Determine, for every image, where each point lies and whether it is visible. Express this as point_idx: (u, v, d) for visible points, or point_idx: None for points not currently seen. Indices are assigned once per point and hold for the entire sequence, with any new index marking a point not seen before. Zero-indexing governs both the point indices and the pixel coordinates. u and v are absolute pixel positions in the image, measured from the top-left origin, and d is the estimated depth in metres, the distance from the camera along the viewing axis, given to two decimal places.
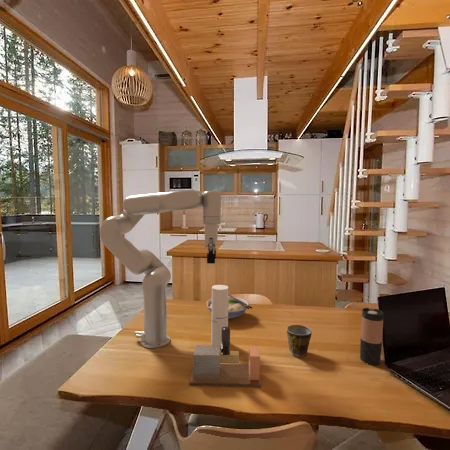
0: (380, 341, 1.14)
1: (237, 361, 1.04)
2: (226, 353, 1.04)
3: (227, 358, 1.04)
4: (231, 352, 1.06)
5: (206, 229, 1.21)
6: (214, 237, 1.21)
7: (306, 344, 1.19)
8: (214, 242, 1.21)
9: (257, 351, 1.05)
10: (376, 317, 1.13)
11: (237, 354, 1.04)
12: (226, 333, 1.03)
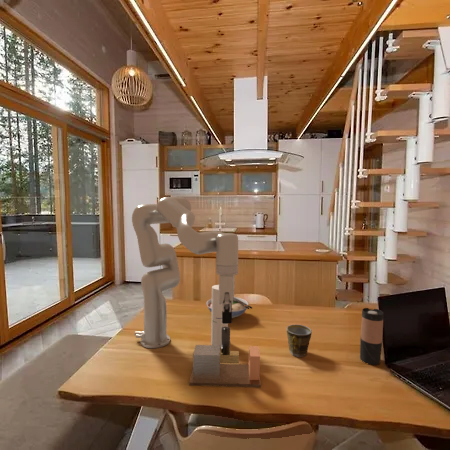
0: (380, 341, 1.14)
1: (237, 361, 1.04)
2: (226, 353, 1.04)
3: (227, 358, 1.04)
4: (231, 352, 1.06)
5: (221, 282, 0.99)
6: (231, 292, 0.98)
7: (306, 344, 1.19)
8: (231, 298, 0.98)
9: (257, 351, 1.05)
10: (376, 317, 1.13)
11: (237, 354, 1.04)
12: (226, 333, 1.03)
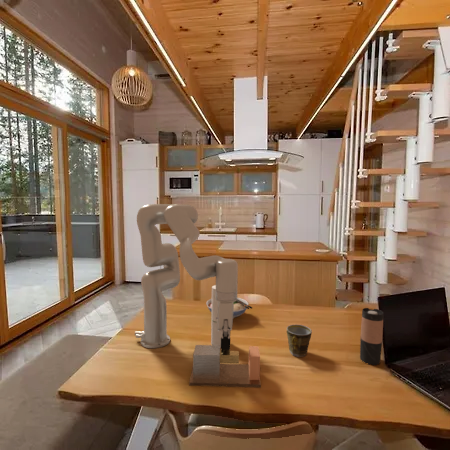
0: (380, 341, 1.14)
1: (237, 361, 1.04)
2: (226, 353, 1.04)
3: (227, 358, 1.04)
4: (231, 352, 1.06)
5: (220, 308, 0.99)
6: (230, 318, 0.99)
7: (306, 344, 1.19)
8: (229, 324, 0.99)
9: (257, 351, 1.05)
10: (376, 317, 1.13)
11: (237, 354, 1.04)
12: None
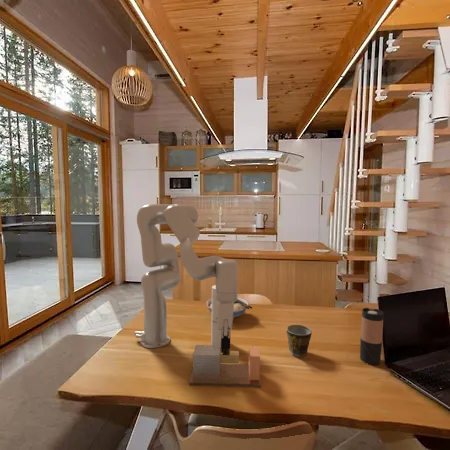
0: (380, 341, 1.14)
1: (237, 361, 1.04)
2: (226, 353, 1.04)
3: (227, 358, 1.04)
4: (231, 352, 1.06)
5: (220, 309, 0.99)
6: (230, 319, 0.99)
7: (306, 344, 1.19)
8: (229, 325, 0.99)
9: (257, 351, 1.05)
10: (376, 317, 1.13)
11: (237, 354, 1.04)
12: None
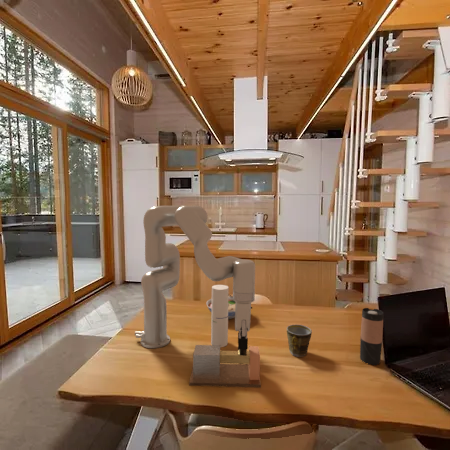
0: (380, 341, 1.14)
1: None
2: (243, 354, 1.04)
3: (244, 359, 1.04)
4: (248, 352, 1.06)
5: (238, 309, 0.99)
6: (247, 319, 0.99)
7: (306, 344, 1.19)
8: (247, 325, 0.99)
9: (257, 351, 1.05)
10: (376, 317, 1.13)
11: None
12: None
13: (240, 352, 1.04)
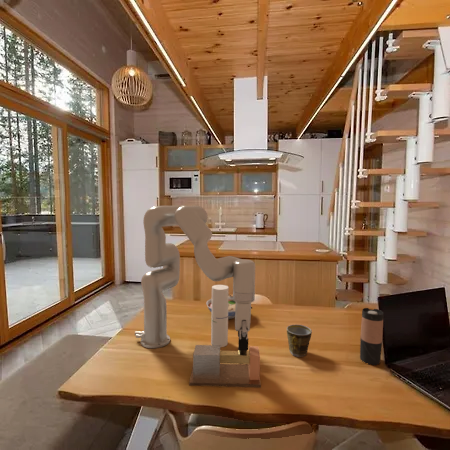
0: (380, 341, 1.14)
1: None
2: (243, 354, 1.04)
3: (244, 359, 1.04)
4: (248, 352, 1.06)
5: (238, 309, 0.99)
6: (248, 319, 0.99)
7: (306, 344, 1.19)
8: (247, 325, 0.99)
9: (257, 351, 1.05)
10: (376, 317, 1.13)
11: None
12: None
13: (240, 352, 1.04)
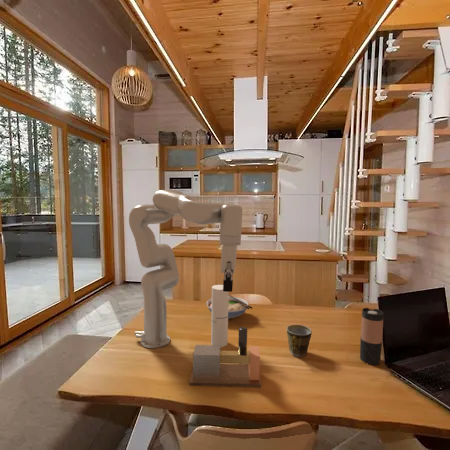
0: (380, 341, 1.14)
1: None
2: (243, 354, 1.04)
3: (244, 359, 1.04)
4: (248, 352, 1.06)
5: (224, 251, 1.01)
6: (233, 261, 1.01)
7: (306, 344, 1.19)
8: (232, 267, 1.01)
9: (257, 351, 1.05)
10: (376, 317, 1.13)
11: None
12: (243, 334, 1.03)
13: (240, 352, 1.04)
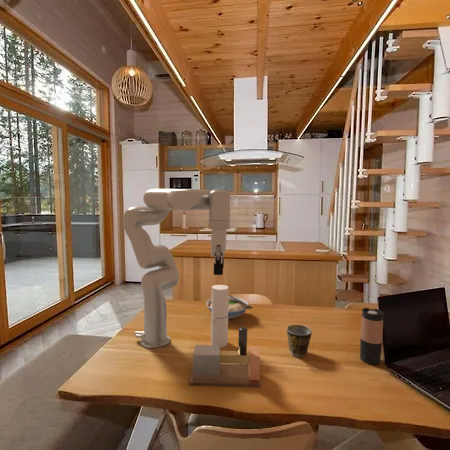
0: (380, 341, 1.14)
1: None
2: (243, 354, 1.04)
3: (244, 359, 1.04)
4: (248, 352, 1.06)
5: (213, 235, 1.03)
6: (222, 244, 1.03)
7: (306, 344, 1.19)
8: (222, 250, 1.03)
9: (257, 351, 1.05)
10: (376, 317, 1.13)
11: None
12: (243, 334, 1.03)
13: (240, 352, 1.04)
